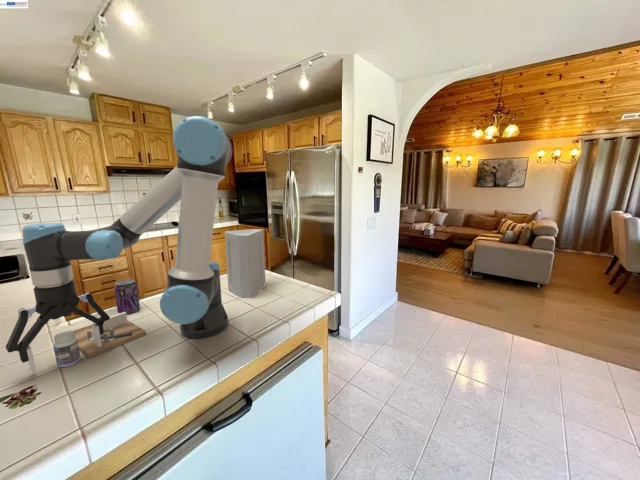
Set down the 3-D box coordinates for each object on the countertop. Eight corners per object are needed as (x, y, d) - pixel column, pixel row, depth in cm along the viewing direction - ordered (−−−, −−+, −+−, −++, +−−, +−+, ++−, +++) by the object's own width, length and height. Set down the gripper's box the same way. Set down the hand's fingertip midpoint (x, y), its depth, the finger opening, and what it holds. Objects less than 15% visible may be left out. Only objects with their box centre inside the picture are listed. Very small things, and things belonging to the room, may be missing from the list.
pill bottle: (52, 368, 70) (46, 339, 69) (67, 357, 75) (62, 329, 73) (71, 367, 70) (65, 338, 69) (85, 356, 75) (80, 329, 74)
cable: (133, 334, 84) (133, 331, 84) (122, 341, 80) (122, 338, 80) (98, 330, 87) (98, 328, 86) (86, 337, 83) (85, 335, 82)
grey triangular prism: (238, 282, 136) (235, 228, 131) (266, 284, 134) (263, 229, 129) (219, 297, 117) (214, 234, 112) (251, 299, 115) (248, 235, 110)
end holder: (127, 323, 91) (126, 312, 91) (102, 332, 86) (101, 320, 85) (117, 316, 96) (115, 306, 95) (93, 324, 90) (91, 314, 90)
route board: (146, 334, 87) (144, 323, 86) (88, 357, 74) (86, 345, 74) (120, 318, 98) (118, 308, 97) (65, 336, 85) (63, 325, 84)
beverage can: (128, 316, 99) (124, 285, 97) (113, 314, 101) (108, 284, 98) (144, 308, 106) (140, 279, 104) (129, 306, 107) (125, 278, 105)
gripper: (106, 269, 81) (116, 333, 85) (-26, 295, 60) (-5, 378, 64) (116, 273, 77) (126, 340, 81) (-21, 303, 56) (1, 391, 60)
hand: (68, 357), depth 72 cm, fingers open, 13 cm apart
